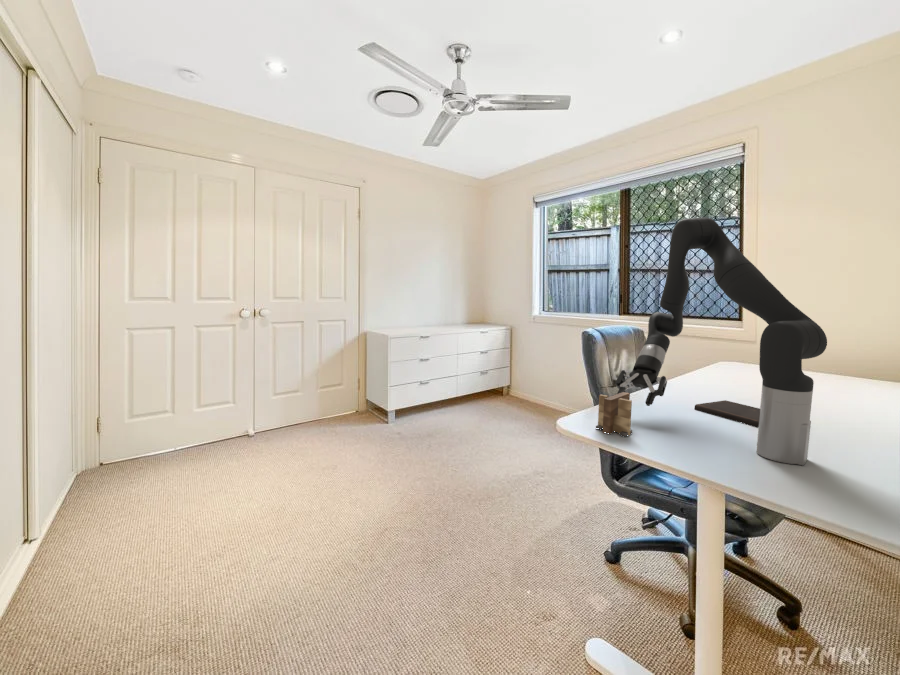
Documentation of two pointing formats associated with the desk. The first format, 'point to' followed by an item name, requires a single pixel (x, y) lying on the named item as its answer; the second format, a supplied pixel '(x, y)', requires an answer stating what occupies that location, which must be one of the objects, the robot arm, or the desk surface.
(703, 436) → the desk surface
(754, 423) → the hardcover book
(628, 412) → the oak upright
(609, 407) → the brown notched wooden panel
